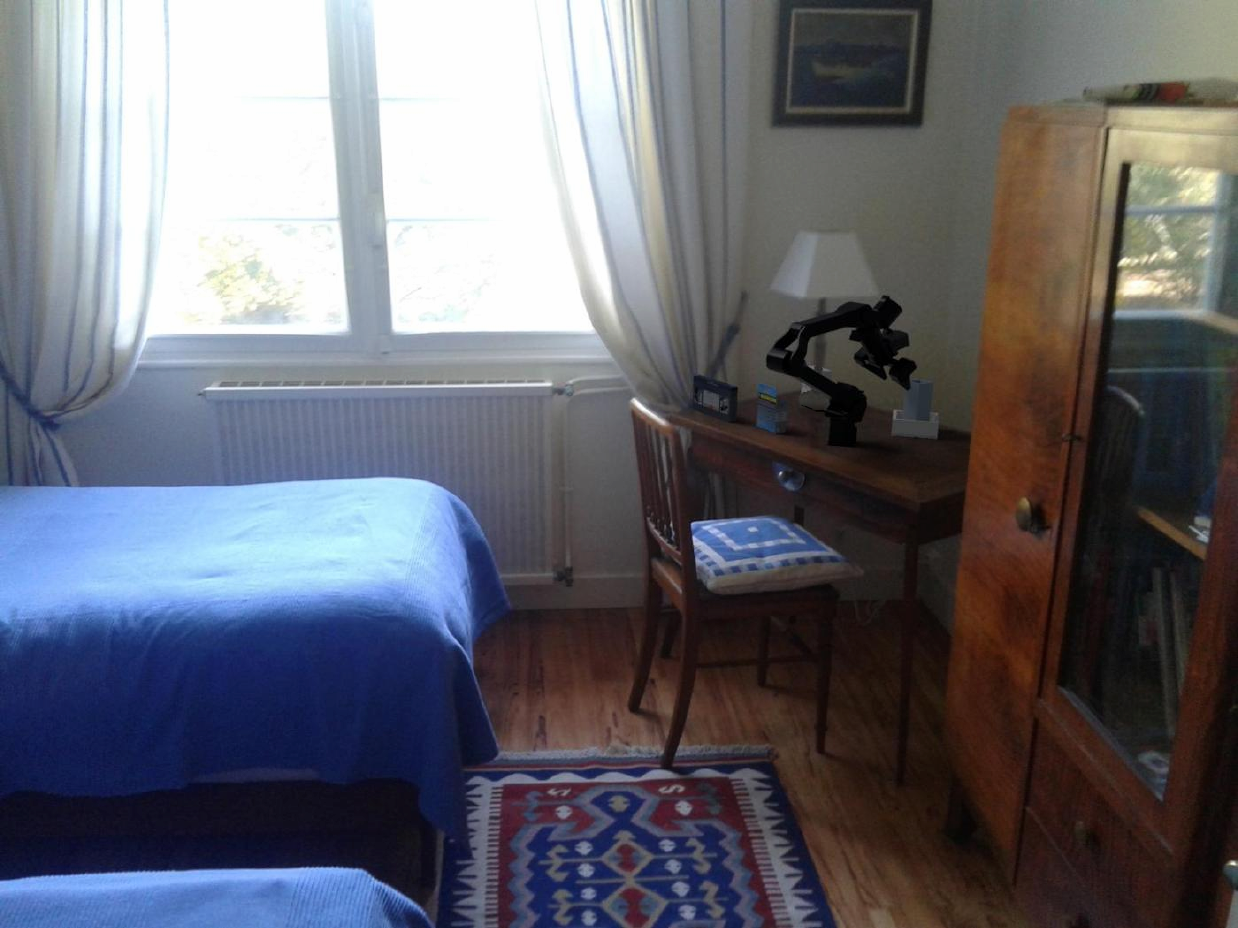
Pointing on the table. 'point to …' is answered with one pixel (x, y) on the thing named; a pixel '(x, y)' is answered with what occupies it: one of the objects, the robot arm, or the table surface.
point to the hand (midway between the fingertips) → (897, 384)
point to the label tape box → (771, 410)
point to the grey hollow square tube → (918, 400)
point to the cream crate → (915, 426)
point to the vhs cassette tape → (715, 398)
